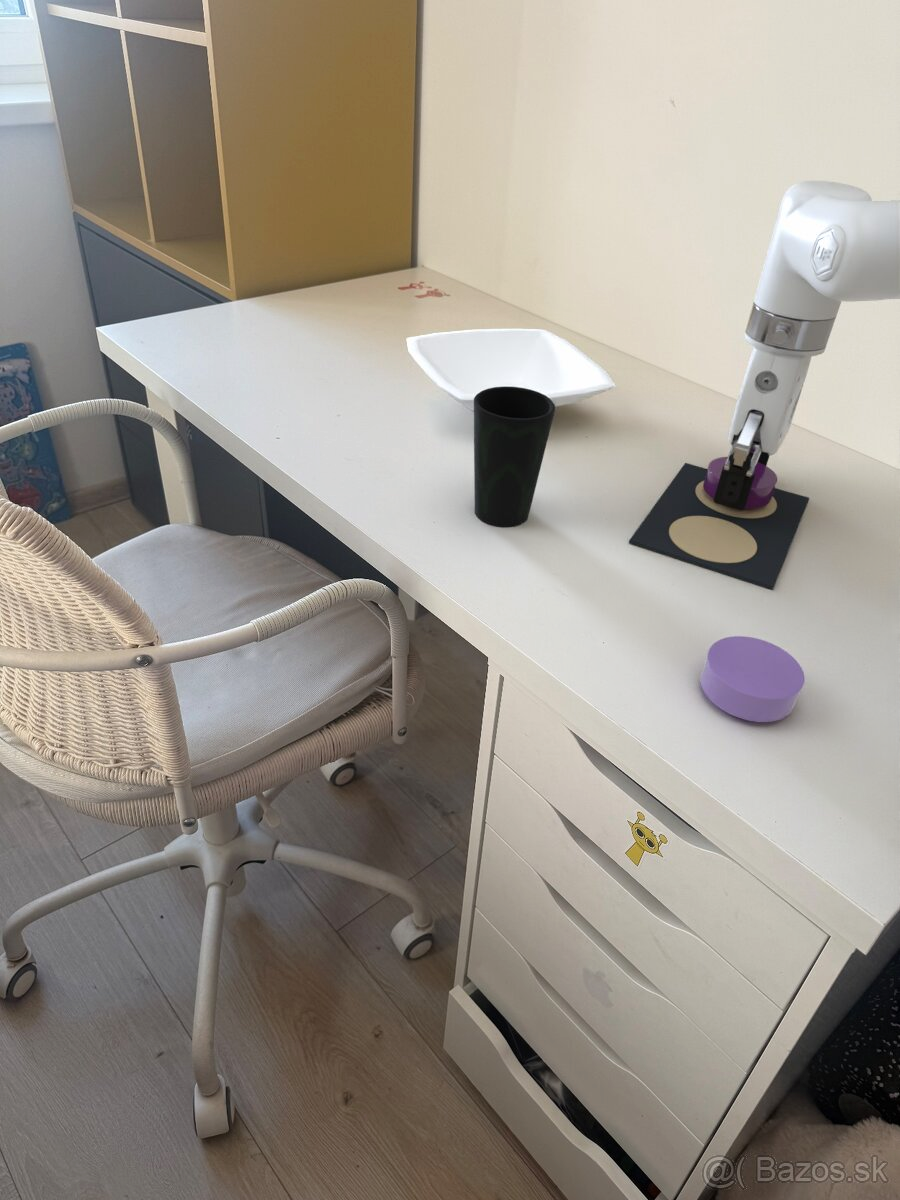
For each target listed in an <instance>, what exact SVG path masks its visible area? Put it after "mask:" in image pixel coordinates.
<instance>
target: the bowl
mask: <svg viewBox="0 0 900 1200" xmlns="http://www.w3.org/2000/svg"><path fill="white" fill-rule="evenodd" d="M406 343H407V351H408V353H409V355H411V357H412V358H413V359H414V361H415V362H416V364H418V365H419V367H420V368H421V369H422V371H423V372H424V373H425V374H426V375H427V376H428V377H429V378H430V380H431V381H433V383H434V384H435V385H436V386H437V387H438V388H439V389H440V390H442V391H443V392H444V393H445V394H447V395H448V396H450V397H451V398H452V399H454V401H457V402H458V403H460V404H461V405H462V406H464V407H466V408H467V409H468V410H470V411H473V412H474V398H475V396H476V395H477V394H478V393H480V392H481V391H483V390H486V389H489V388H494V387H503V386H505V387H520V388H526V389H530V390H534V391H537V392H539V393H541V394H543V395H546V396H547V397H548V398H550V399H551V400H552V402H553V403H554V404H555V408H556V407H562V406H567V405H570V404H575V403H578V402H582V401H585V400H587V399H589V398H592V397H595V396H598V395H600V394H603V393H605V392H608V391H610V390H613V389H615V388H616V384H615V382H614V380H613V379H612V378H611V376H610V375H609V373H608V371H607V370H605V369H604V368H603V367H601V366H600V365H599V364H598V363H597V362H596V361H594V360H593V359H591V358H590V357H589V356H588V355H586V354H585V353H584V352H583V351H581V350H580V349H579V348H577V347H576V346H575V345H574V344H572V343H570V342H569V341H568V340H567V339H565V338H563V337H560V336H558V335H557V334H555V333H553V332H550V331H549V330H546V329H538V328H484V329H483V328H482V329H481V328H480V329H475V328H474V329H464V330H454V331H444V332H434V333H428V334H423V335H416V336H409V337H407V338H406Z"/></svg>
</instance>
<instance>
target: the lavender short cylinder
mask: <svg viewBox="0 0 900 1200" xmlns="http://www.w3.org/2000/svg"><path fill="white" fill-rule="evenodd" d="M707 651H708V652H707V654H706V657H705V661H704V663H703V666H702V669H701V671H700V676H699V683H700V687H701V689H702V691H703V693H704V695H705V696H706V698H708V700H709V701H710V702H711V703H713V704H714V705H715V706H716V707H717V708H719V709H721V710H722V711H724V712H725V713H726V714H729V715H731V716H733V717H736V718H738V719H742V720H746V721H749V722H756V723H771V722H777V721H780V720H783V719H784V718H786V717H787V716H789V715H790V714H791V713H792V711H793V710H794V708H795V706H796V703H797V702H798V699H799V697H800V694H801V692H802V689H803V687H804V685H805V680H806V679H805V673H804V669H803V668H802V666H801V665H800V663H799V662H798V661H797V660H796V658H795V657H794V656H792V655H791V654H790V653H789V652H788V651H786V650H785V649H783V648H781V647H780V646H778V645H776V644H774V643H772V642H769V641H767V640H763V639H761V638H756V637H752V636H743V635H735V636H728V637H724V638H721V639H718V640H717V641H715V642H714V643H712V645H711V646H710V647H709V649H708V650H707Z"/></svg>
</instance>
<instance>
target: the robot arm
mask: <svg viewBox="0 0 900 1200" xmlns="http://www.w3.org/2000/svg"><path fill="white" fill-rule="evenodd" d="M755 291H756V292H755V295H754V298H753V303H752V306H751V310H750V313H749V316H748V321H747V325H746V328H745V330H744V334H743V338H744V340H745V341H746V342H747V343H748V344H749V345H752V346H753V347H752V349H751V353H750V357H749V359H748V363H747V366H746V368H745V369H746V370H745V373H744V376H743V380H742V383H741V387H740V390H739V393H738V397H737V401H736V404H735V408H734V411H733V416H732V419H731V423H730V427H729V433H728V436H727V441H728V443H729V444H730V445H731V448H730V451H729V453H728V456H727V457H728V458H727V461H726V463H725V466H723V468H722V472H721V475H720V479H719V482H718V486H717V489H716V492H715V496H714V502H715V503H717V504H720V505H724V506H727V507H730V508H734V509H737V510H744V508H745V506H746V504H747V500H748V497H749V494H750V491H751V488H752V485H753V482H754V478H755V474H753V472H754V469H755V467H756V464H757V462H759V463H761V464H763V465H765V466H767V465H768V462H769V460H770V456H773V455H776V454H777V453H778V451H779V450H780V448H781V447H782V445H783V442H784V441H785V439H786V437H787V435H788V433H789V431H790V428H791V426H792V423H793V420H794V416H795V412H796V409H797V405H798V403H799V401H800V400H799V399H800V396H801V393H802V390H803V389H804V384H805V381H806V378H807V375H808V371H809V368H810V364H811V361H812V357H817V356H819V355H822V354H823V353H824V352H825V351H826V348H827V345H828V342H829V339H830V336H831V333H832V330H833V327H834V324H835V322H836V318H837V316H838V312H839V311H840V307H841V304H842V302H847V303H848V302H852V303H853V302H873V301H874V302H876V301H877V302H878V301H884V300H900V200H898V199H897V200H896V199H895V200H894V199H893V200H873V199H872V197H871V195H870V194H869V193H868V191H866V190H864V189H863V188H861V187H857V186H854V185H850V184H846V183H841V182H835V181H829V180H827V181H826V180H803V181H800V182H796V183H794V184H793V185H791V186H790V187H789V188H788V189H787V190H786V191H785V193H784V195H783V197H782V199H781V202H780V205H779V209H778V213H777V216H776V219H775V223H774V227H773V230H772V234H771V238H770V241H769V244H768V248H767V252H766V256H765V259H764V263H763V267H762V269H761V273H760V277H759V280H758V284H757V288H756V290H755Z"/></svg>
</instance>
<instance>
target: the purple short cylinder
mask: <svg viewBox="0 0 900 1200" xmlns="http://www.w3.org/2000/svg"><path fill="white" fill-rule="evenodd" d="M727 458H728V456H721V457H717V458H714V459H712V460H711V461H709V463H708V464H707V468H706V469H707V472H706V476H705V479H704V483H703V488H704V490H705V492H706V493H707V494H708V495H709V496H710V497H712V498H713V499H714V496H715V492H716V489H717V486H718V482H719V479H720V475H721V472H722V468H723V466H725V463H726V461H727ZM753 474H755V478H754V482H753V485H752V488H751V491H750V494H749V497H748V500H747V504H746V506H745V508H744V510H750V509H755V508H761V507H764V506H766V505H768V504H769V503H770V501H771V499H772V496H773V493H774V490H775V488H777V487H776V486H777V484H778V481H779V480H778V479H779V478H778V476H777V474H776V473H775V471H774V470H773V469H772V468H770V467H768V466H767V465H766V466H765V465H763V464H761V463H759V462H757V464H756V467H755V469H754V472H753Z"/></svg>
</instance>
